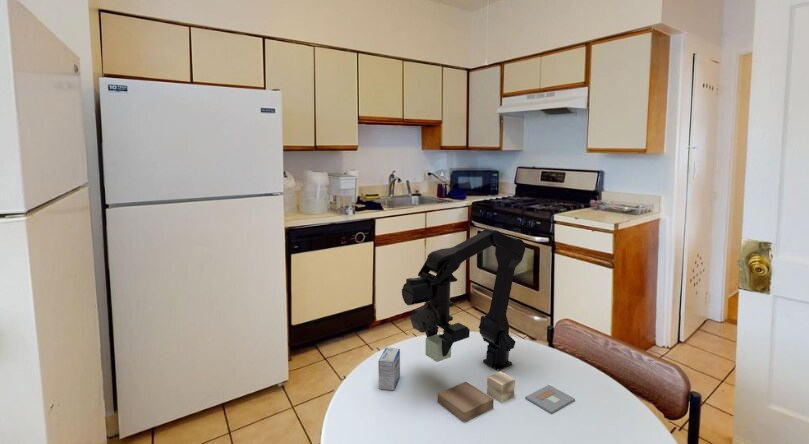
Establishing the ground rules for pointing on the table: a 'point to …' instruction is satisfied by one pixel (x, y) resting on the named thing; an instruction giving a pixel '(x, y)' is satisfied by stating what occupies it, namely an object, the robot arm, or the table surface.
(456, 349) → the table surface
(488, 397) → the walnut block
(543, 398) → the slate card
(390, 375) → the medicine box
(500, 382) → the birch cube
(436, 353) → the sage cube
